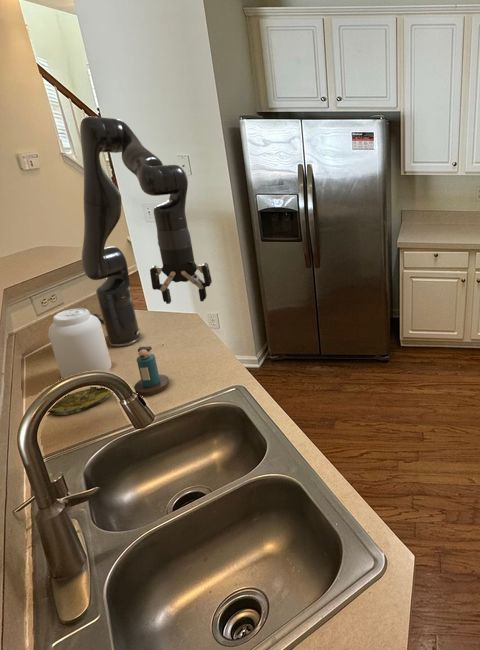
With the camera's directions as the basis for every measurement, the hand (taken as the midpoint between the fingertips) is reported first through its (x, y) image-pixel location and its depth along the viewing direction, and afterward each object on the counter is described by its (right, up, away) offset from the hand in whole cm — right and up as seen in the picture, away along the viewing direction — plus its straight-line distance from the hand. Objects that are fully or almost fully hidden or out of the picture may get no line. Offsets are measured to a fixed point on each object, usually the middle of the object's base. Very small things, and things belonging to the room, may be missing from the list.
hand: (185, 301), depth 118 cm
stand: (-13, -25, +7) cm, 29 cm away
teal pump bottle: (-13, -24, +6) cm, 28 cm away
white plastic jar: (-37, -22, +14) cm, 45 cm away
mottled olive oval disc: (-29, -28, 0) cm, 40 cm away
